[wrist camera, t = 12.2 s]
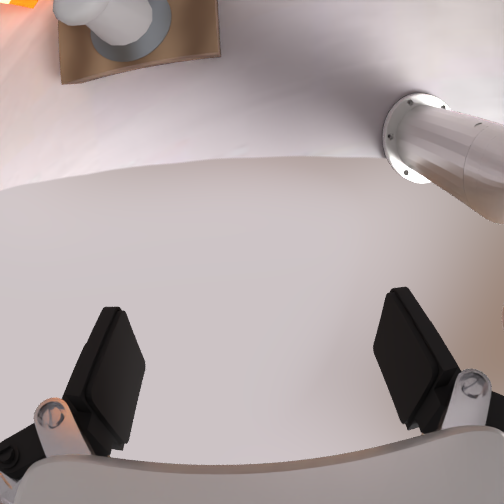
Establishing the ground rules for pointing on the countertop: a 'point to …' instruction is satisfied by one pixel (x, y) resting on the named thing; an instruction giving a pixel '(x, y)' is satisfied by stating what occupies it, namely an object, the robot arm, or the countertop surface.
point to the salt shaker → (107, 18)
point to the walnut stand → (142, 42)
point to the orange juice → (21, 2)
